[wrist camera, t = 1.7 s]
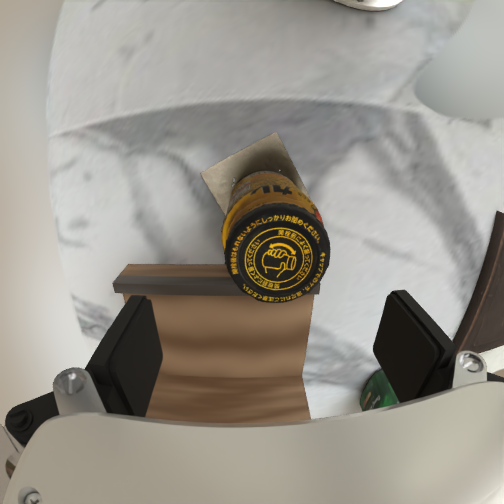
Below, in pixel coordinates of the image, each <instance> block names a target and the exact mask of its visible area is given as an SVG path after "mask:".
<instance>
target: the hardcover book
mask: <svg viewBox="0 0 504 504" xmlns="http://www.w3.org/2000/svg"><path fill="white" fill-rule="evenodd" d="M453 343H454V344H455V346H456V347H457V348H456V350H455V355H456V356H457V355H458V354H459V353H460V352H462V351H472V352H475V353H477V354H478V353H481V352H485V351H488V350H491V349H494V348H497V347H500V346H502V345H504V213H502V212H499V211H497V212H496V217H495V222H494V226H493V231H492V235H491V239H490V243H489V246H488V250H487V254H486V257H485V260H484V264H483V267H482V270H481V273H480V276H479V279H478V282H477V285H476V287H475V290H474V293H473V296H472V298H471V301H470V303H469V306H468V308H467V311H466V313H465V315H464V318H463V320H462V322H461V325H460V327H459V329H458V331H457V333H456V335H455V337H454V339H453Z"/></svg>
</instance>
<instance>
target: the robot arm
mask: <svg viewBox="0 0 504 504" xmlns="http://www.w3.org/2000/svg"><path fill="white" fill-rule="evenodd" d="M334 1H336V2H339V3H341V4H344V5H347V6H350V7H354V8H357V9H362V10H369V11H382V10H387V9H391V8H393V7H395V6H397V5H398V4H399V3H401V2H402V1H403V0H334ZM456 348H457V347H456V346H455V344H454V343H453V342H452V341H451V340H450V338H449V337H448V336H447V335H446V334H445V333H444V331H443V330H442V329H441V328H440V327H439V326H438V325H437V324H436V322H435V321H434V320H433V319H432V318H431V317H430V316H429V315H428V314H427V312H426V311H425V310H424V309H423V308H422V307H421V306H420V305H419V304H418V303H417V302H416V301H415V300H414V298H413V297H412V296H411V295H410V294H409V293H408V292H407V291H406V290H395V291H392V292H391V293H390V294H389V295H388V296H387V298H386V302H385V306H384V310H383V314H382V318H381V321H380V325H379V328H378V332H377V335H376V338H375V342H374V345H373V352H374V355H375V357H376V358H377V360H378V362H379V364H380V366H381V368H382V370H383V371H384V373H385V375H386V377H387V379H388V381H389V383H390V385H391V387H392V389H393V391H394V393H395V395H396V397H397V399H398V401H399V404H395V405H391V406H387V407H383V408H378V409H373V410H368V411H363V412H358V413H352V414H346V415H340V416H333V417H326V418H318V419H310V420H300V421H288V422H272V423H201V422H186V421H173V420H162V419H153V418H145V416H146V413H147V409H148V406H149V403H150V399H151V396H152V393H153V389H154V386H155V383H156V380H157V376H158V373H159V370H160V367H161V364H162V361H163V351H162V347H161V343H160V339H159V334H158V330H157V325H156V321H155V316H154V311H153V306H152V301H151V300H150V299H147V297H146V296H145V295H131V296H130V297H129V299H128V300H127V302H126V304H125V305H124V307H123V308H122V310H121V311H120V313H119V314H118V316H117V317H116V319H115V321H114V322H113V324H112V325H111V327H110V328H109V329H108V331H107V332H106V334H105V336H104V337H103V339H102V340H101V342H100V344H99V345H98V347H97V349H96V350H95V352H94V354H93V355H92V357H91V359H90V361H89V362H88V364H87V366H86V368H85V369H82V368H69V369H66V370H64V371H62V372H61V373H60V374H58V375H57V376H56V378H55V379H54V382H53V392H50V393H48V394H45V395H43V396H40V397H38V398H35V399H33V400H30V401H27V402H25V403H22V404H20V405H17V406H15V407H13V408H12V409H11V410H10V411H9V412H8V414H7V416H6V420H5V426H4V427H3V426H2V425H1V424H0V504H504V378H503V377H500V376H497V375H495V374H492V373H489V372H487V366H486V362H485V361H484V359H483V358H482V357H481V356H480V355H478V354H477V353H475V352H472V351H462V352H460V353H459V354H458V355H457V356H456V355H455V350H456Z"/></svg>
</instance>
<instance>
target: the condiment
mask: <svg viewBox="0 0 504 504" xmlns="http://www.w3.org/2000/svg"><path fill="white" fill-rule="evenodd" d="M279 169H280V170H281V171H279ZM200 174H201V175H202V177H203V179H204V181H205V182H206V184H207V186H208V187H209V189H210V191H211V193H212V194H213V196H214V197H215V199H216V201H217V203H218V204H219V206H220V207H221V209H222V211H223V212H224V214H225V219H224V222H223V226H222V231H221V232H222V243H223V249H224V254H225V261H226V262H225V264H226V267H227V269H228V273H229V274H230V276H231V277H232V279H233V281H234V283H235V284H236V285H237V286H238V288H239V289H240V290H241V291H242V292H243V293H245V294H248V295H250V296H251V297H253V298H254V299H256V300H257V301H261V302H266V303H284V302H289V301H292V300H294V299H296V298H299V297H301V296H304V295H306V294H307V293H310V291H312V289H313V288H314V287H315V286H317V285H318V283H319V282H320V281H321V279H322V277H323V276H324V274H325V272H326V269H327V268H328V266H329V260H330V242H329V238H328V234H327V232H326V230H325V228H324V225H323V222H322V218H321V216H320V214H319V212H318V209H317V208H316V206H315V205H314V204H313V202H312V201H311V199H310V197H309V195H308V193H307V191H306V189H305V187H304V185H303V183H302V181H301V179H300V177H299V174H298V173H297V170H296V168H295V167H294V165H293V163H292V161H291V159H290V157H289V155H288V153H287V151H286V149H285V147H284V146H283V144H282V142H281V140H280V138H279V136H278V134H277V133H276V132H275V133H273V134H271V135H269V136H267V137H265V138H263V139H261V140H259V141H257V142H255V143H253V144H252V145H250V146H248V147H246V148H244V149H242V150H240V151H238V152H237V153H235V154H233V155H232V156H229V157H227V158H226V159H224V160H222V161H220V162H219V163H217V164H215V165H213V166H212V167H210V168H208V169H206V170H205V171H203V172H201V173H200ZM233 178H235V182H233ZM233 183H234V184H235V185H234V187H232V184H233Z"/></svg>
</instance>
